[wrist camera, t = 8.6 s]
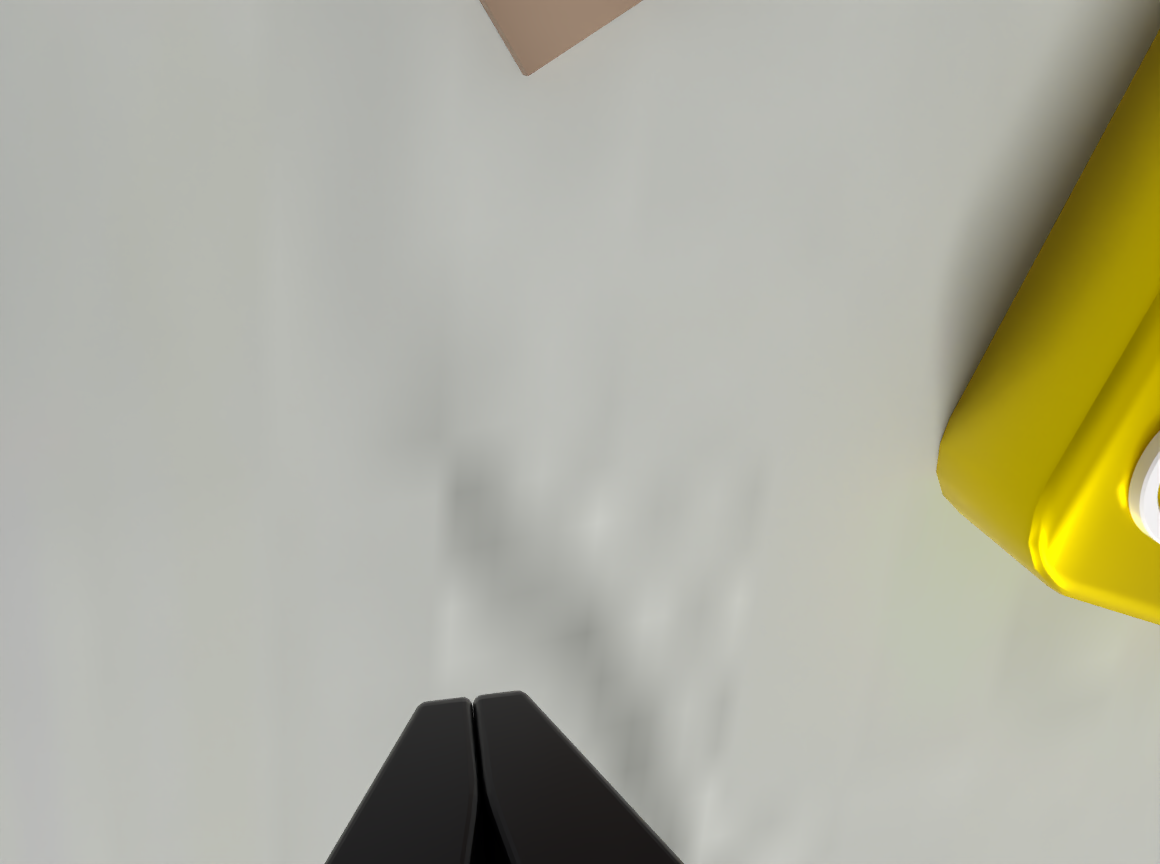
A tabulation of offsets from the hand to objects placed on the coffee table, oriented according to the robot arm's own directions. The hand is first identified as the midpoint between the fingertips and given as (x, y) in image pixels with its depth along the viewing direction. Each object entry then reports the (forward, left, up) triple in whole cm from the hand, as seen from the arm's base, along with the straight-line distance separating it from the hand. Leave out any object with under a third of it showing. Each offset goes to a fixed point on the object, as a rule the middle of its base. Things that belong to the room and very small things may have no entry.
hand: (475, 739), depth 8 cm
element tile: (+21, -1, -14) cm, 25 cm away
